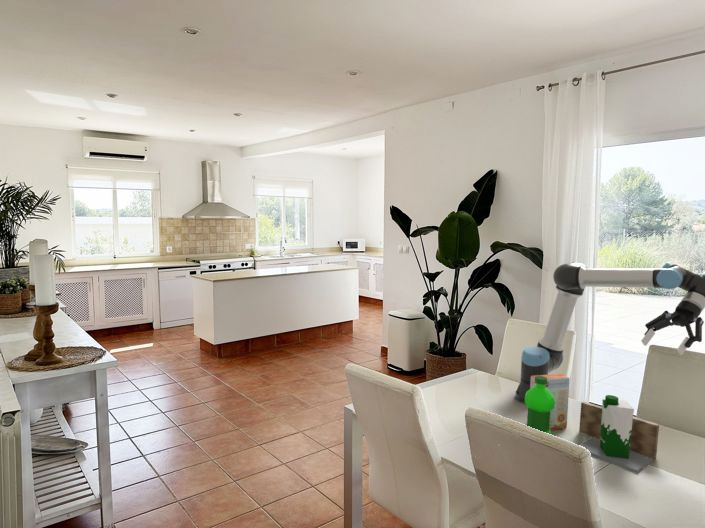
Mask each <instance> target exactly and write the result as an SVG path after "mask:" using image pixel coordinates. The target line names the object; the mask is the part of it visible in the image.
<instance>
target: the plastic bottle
mask: <svg viewBox="0 0 705 528" xmlns="http://www.w3.org/2000/svg"><path fill="white" fill-rule="evenodd" d="M535 383H536V386H535V387H533V388H531V389H530V390H528V391H527V392H526V394H525V403H524V404H525V406H526V407H527V415H526V417H527V418H526V425H527V426H530V427H532V428H535V429H538V430H540V431H543V432H546V433H549V434H551V435H552V430H550V429H549V423H550V411H551V410H553V409H554V406H555V398H554V395H553V394H552V393H551V392H550V391H549V390H548V389H546V388H545V384H547V378H546V377H543V376H535ZM526 425H525V426H526Z"/></svg>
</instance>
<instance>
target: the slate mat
mask: <svg viewBox="0 0 705 528" xmlns="http://www.w3.org/2000/svg"><path fill="white" fill-rule="evenodd" d="M579 445H581V446H583V447H585V448H586V449H588V450H589V451H590V453H591V455H592V457H594V458H597V459H599V460H601V461H602V460H603V461H604V462H607V463H609V464H612V465H615V466H617V467H620V468H623V469H625V470H628V471H630V472H633V473H636V474H638V473H640V472H641V471H642V470H643V469H644V468H645V467H647V466H648V465H649V464H650V463H651V462H652V461H653V458H650V457H647V456H644V455H642V454H639V453H636V452H633V451H629V459H627V458H619V457H610V456H606V455H605V453H604V452H603V450H602V449H601V447H600V439H597V438H594V437H590V438H588V439H587V440H585V441H584V442H582V443H581V444H579ZM591 455H590V456H591Z"/></svg>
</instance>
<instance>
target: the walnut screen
mask: <svg viewBox="0 0 705 528" xmlns="http://www.w3.org/2000/svg"><path fill="white" fill-rule="evenodd" d="M601 422H602V405H601V406H600V405H598V404H594V403H592V402H587V401H581V403H580V414H579V427H578V428H579V430H578V432H579V433H580V434H583V435H586V436H589V437H590V438H592V437H593V438H596V439H599V440H600V435H601ZM659 429H660V423H656V422H653V421H649V420H646V419H643V418H640V417H636V416H633V420H632V432H631V443H630V451H633V452H635V453H638V454H641V455H644V456H646V457H649V458H652V460H655V459H656V458H657V454H658V453H657V452H658V440H659Z"/></svg>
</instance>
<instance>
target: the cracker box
mask: <svg viewBox="0 0 705 528" xmlns="http://www.w3.org/2000/svg"><path fill="white" fill-rule="evenodd" d="M535 376H543V377H546V378H547V384H545V388H546V389H548V390H549V391H550V392H551V393H552V394H553V395H554V398H555V406H554V409H553V410H551V411H550V423H549V429H550V431H552V430H551V429H554V430H562V429H563V430H564V429H567V428H568V427H567V426H568V410H569V392H570V377H568V376H566V375H564V374H562V373H552V374H551V373H548V375H535ZM535 376H531V380H530V389H531V388H533V387H535V386H536V383H535Z"/></svg>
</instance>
